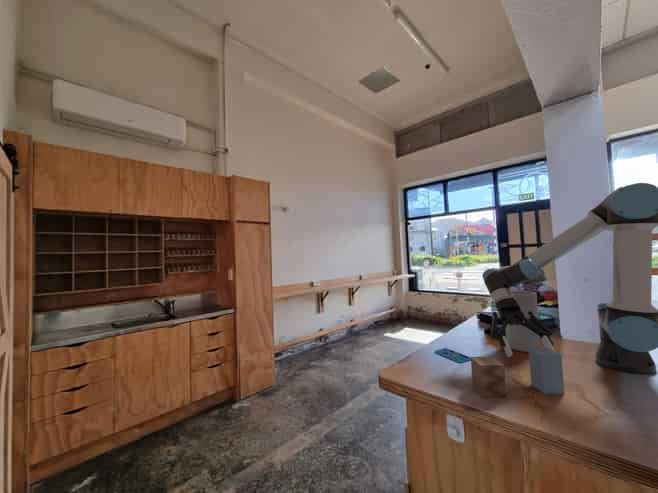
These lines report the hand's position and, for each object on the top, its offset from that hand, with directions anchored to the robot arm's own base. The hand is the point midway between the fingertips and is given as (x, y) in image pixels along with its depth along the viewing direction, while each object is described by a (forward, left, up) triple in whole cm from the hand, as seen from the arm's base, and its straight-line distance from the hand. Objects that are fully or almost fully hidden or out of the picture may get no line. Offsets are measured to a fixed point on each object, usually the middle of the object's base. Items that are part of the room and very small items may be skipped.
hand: (531, 355), depth 91 cm
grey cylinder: (-4, -37, -9) cm, 38 cm away
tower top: (+14, +11, -4) cm, 19 cm away
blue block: (-3, +3, -9) cm, 10 cm away
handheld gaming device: (+25, -18, -10) cm, 32 cm away
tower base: (+14, +11, -9) cm, 20 cm away
